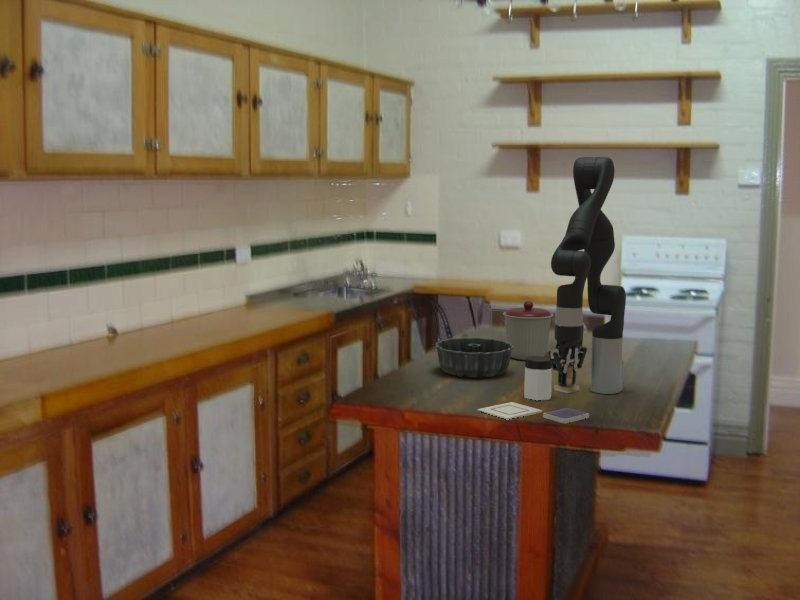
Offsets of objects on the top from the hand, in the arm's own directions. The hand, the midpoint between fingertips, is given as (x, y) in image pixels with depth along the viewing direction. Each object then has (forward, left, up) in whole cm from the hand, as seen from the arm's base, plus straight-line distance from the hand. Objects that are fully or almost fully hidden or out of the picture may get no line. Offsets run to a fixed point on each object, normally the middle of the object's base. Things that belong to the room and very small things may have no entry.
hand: (566, 384), depth 257 cm
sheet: (+8, -14, -9) cm, 19 cm away
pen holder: (-78, -67, -10) cm, 103 cm away
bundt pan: (-19, -58, -10) cm, 62 cm away
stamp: (0, 0, -2) cm, 2 cm away
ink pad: (0, 0, -9) cm, 9 cm away
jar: (-11, -21, -10) cm, 26 cm away
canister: (-52, -65, -10) cm, 84 cm away
